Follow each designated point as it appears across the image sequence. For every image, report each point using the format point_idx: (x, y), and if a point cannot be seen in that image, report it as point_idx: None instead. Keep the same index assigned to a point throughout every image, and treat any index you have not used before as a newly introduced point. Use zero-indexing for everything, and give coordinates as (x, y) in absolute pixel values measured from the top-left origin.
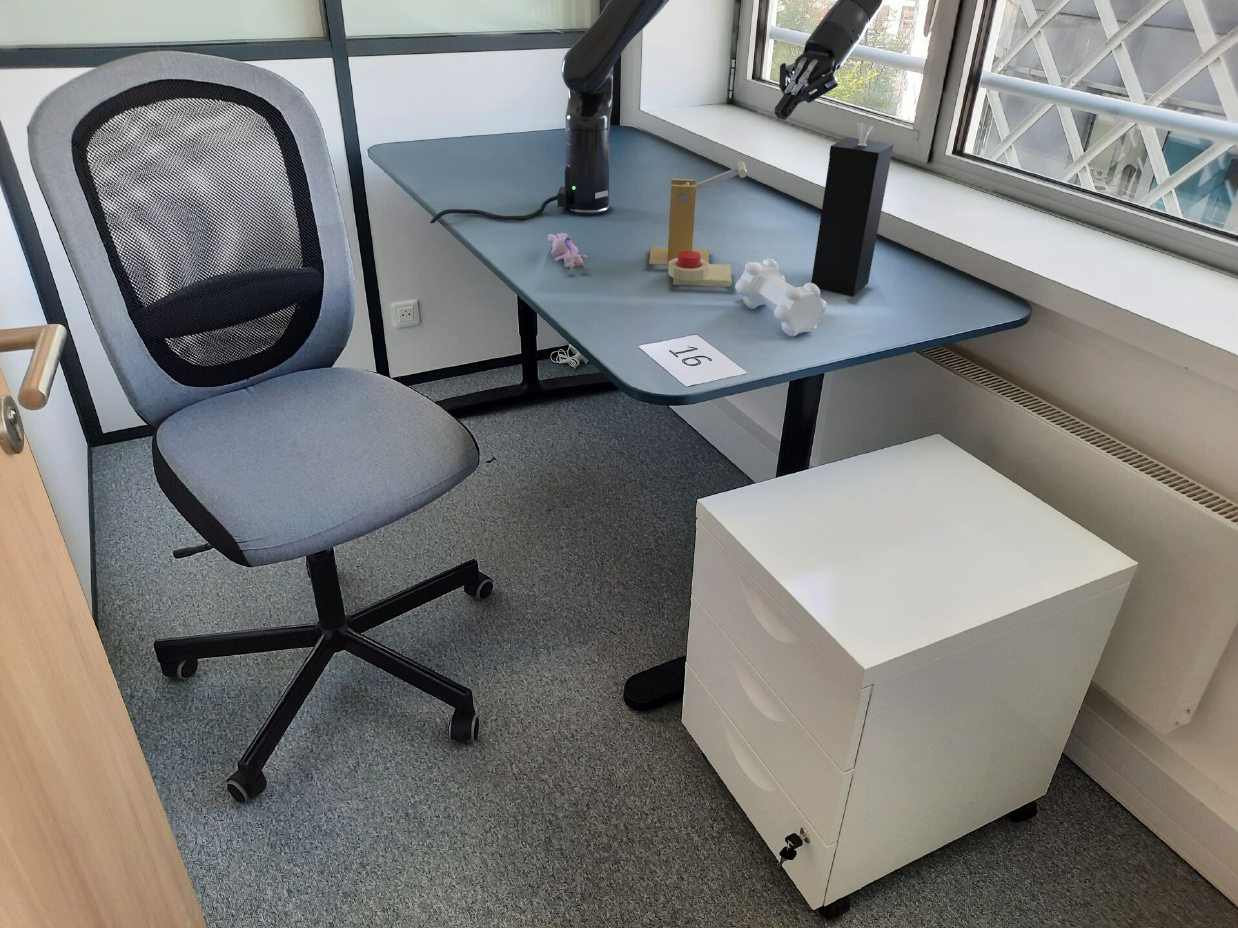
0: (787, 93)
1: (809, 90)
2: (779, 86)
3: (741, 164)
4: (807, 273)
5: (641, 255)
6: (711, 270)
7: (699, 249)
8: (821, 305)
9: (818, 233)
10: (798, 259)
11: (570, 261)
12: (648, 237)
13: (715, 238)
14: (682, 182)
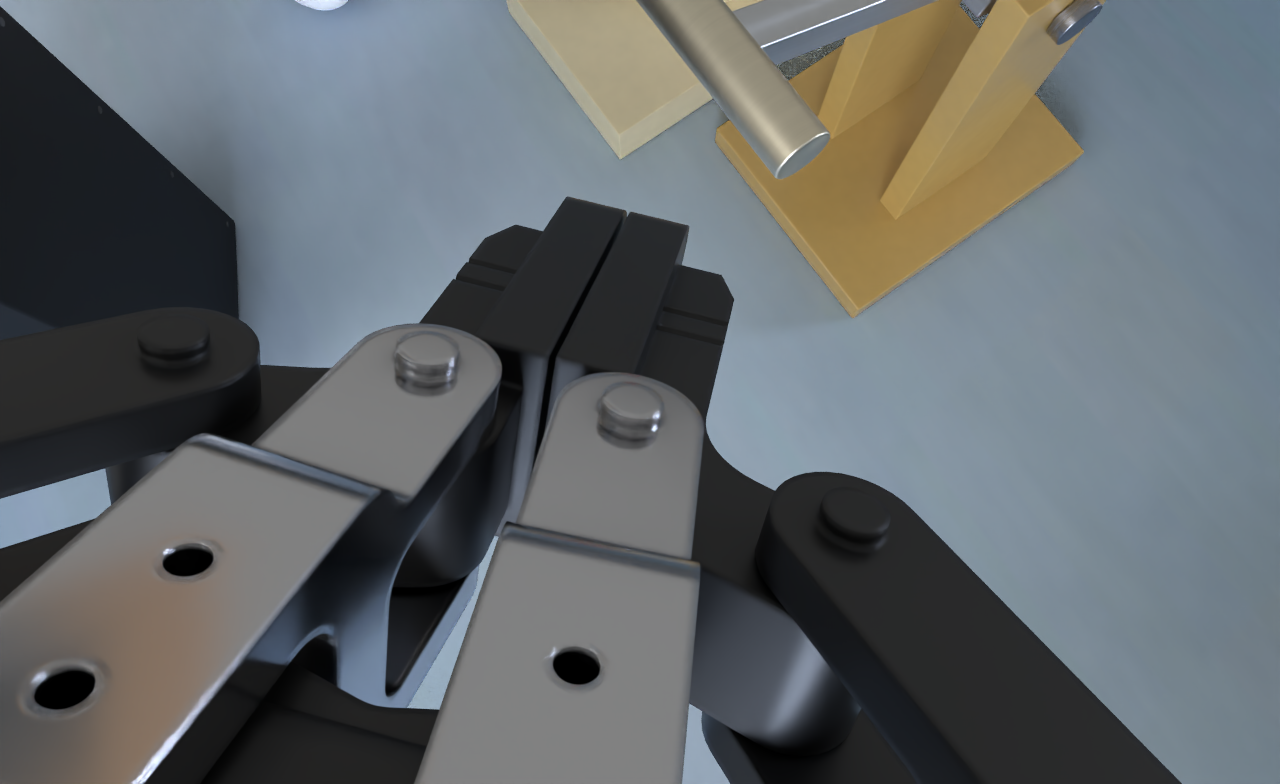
0: (604, 384)
1: (34, 343)
2: (917, 515)
3: (738, 45)
4: None
5: (1085, 120)
6: (639, 21)
7: (892, 283)
8: None
9: (92, 92)
10: (478, 586)
11: None
12: (1249, 347)
13: (991, 577)
14: None
